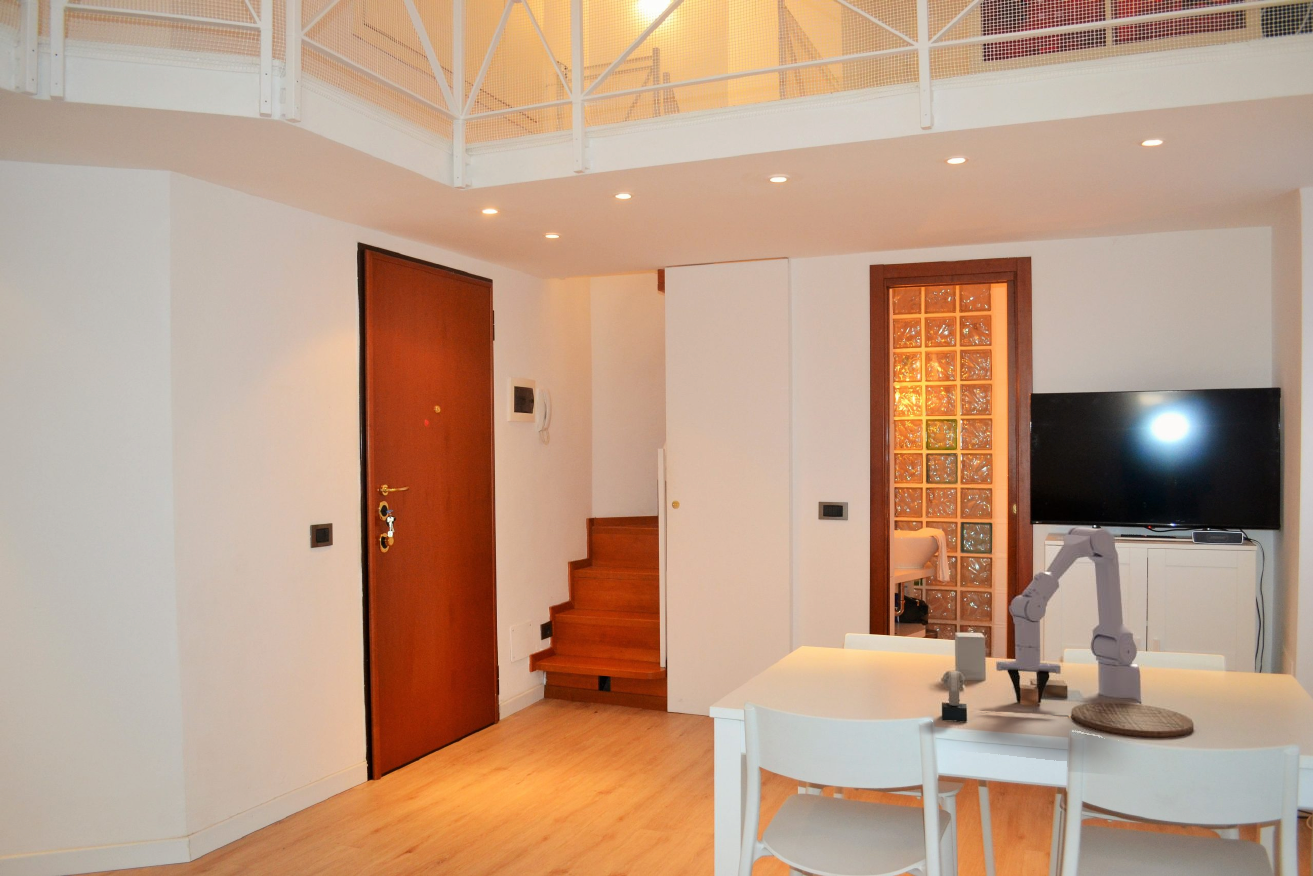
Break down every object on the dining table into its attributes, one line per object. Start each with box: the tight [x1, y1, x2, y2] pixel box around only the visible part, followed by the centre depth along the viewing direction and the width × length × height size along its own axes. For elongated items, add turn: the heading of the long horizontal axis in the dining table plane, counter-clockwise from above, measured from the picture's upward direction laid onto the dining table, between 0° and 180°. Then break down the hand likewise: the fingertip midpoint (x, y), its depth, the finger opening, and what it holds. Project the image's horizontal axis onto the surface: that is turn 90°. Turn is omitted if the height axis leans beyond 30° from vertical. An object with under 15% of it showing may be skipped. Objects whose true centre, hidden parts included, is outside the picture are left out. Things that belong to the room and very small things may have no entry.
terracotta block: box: [1019, 684, 1039, 707], centre depth 234 cm, size 4×4×5 cm
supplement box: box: [954, 632, 987, 681], centre depth 263 cm, size 7×7×13 cm
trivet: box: [1071, 701, 1194, 739], centre depth 220 cm, size 25×25×2 cm
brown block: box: [1029, 678, 1068, 698], centre depth 243 cm, size 8×6×3 cm
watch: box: [940, 670, 968, 722], centre depth 224 cm, size 6×8×11 cm
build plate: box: [1012, 686, 1088, 703], centre depth 243 cm, size 16×12×1 cm
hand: (1028, 701), depth 234 cm, fingers closed on terracotta block, 4 cm apart
